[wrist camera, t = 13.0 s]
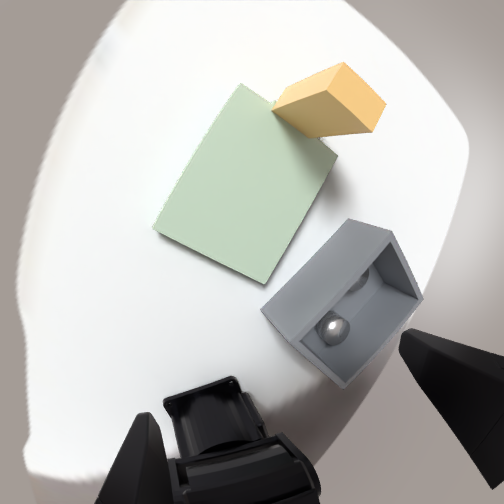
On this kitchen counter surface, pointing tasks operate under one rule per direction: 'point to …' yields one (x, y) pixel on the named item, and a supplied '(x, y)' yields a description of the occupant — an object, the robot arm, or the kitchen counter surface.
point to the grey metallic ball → (333, 328)
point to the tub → (347, 299)
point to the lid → (264, 169)
